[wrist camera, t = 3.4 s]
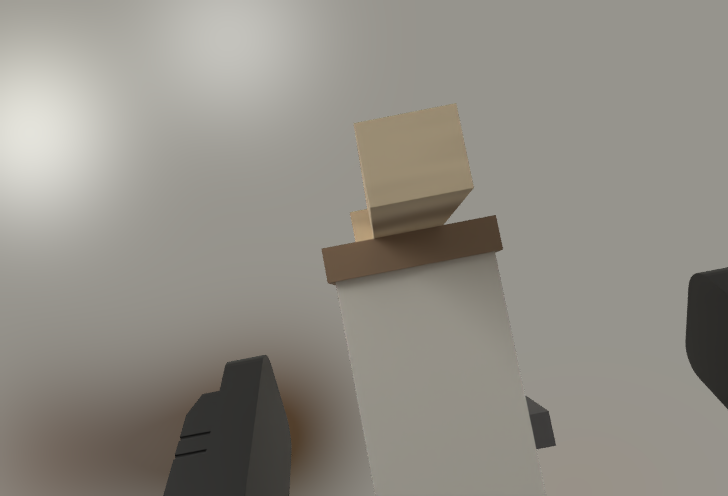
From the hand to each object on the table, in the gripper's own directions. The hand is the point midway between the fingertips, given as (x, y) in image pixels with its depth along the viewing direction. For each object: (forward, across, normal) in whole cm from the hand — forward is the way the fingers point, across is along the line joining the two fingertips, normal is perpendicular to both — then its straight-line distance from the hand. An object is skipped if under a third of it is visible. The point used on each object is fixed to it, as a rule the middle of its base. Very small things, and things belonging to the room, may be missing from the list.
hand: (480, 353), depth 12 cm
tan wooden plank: (+16, 0, +5) cm, 17 cm away
